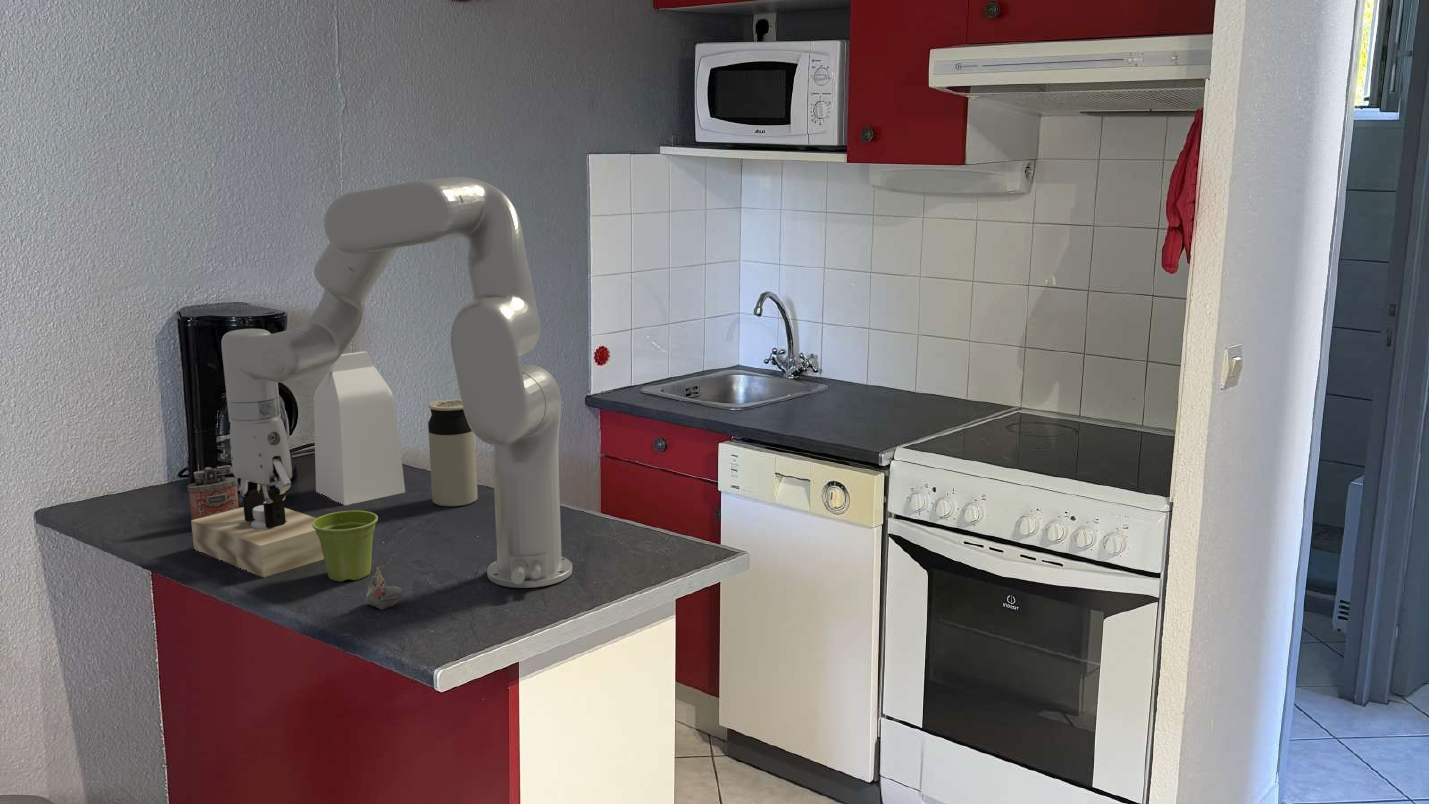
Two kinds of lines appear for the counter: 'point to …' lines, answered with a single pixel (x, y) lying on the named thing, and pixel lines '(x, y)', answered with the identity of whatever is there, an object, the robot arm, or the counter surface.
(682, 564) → the counter surface
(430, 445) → the travel mug
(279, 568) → the hole block
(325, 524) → the plant pot
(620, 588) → the counter surface
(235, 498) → the lighter
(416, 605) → the counter surface
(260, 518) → the pill bottle
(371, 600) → the figurine
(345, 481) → the milk
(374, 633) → the counter surface
